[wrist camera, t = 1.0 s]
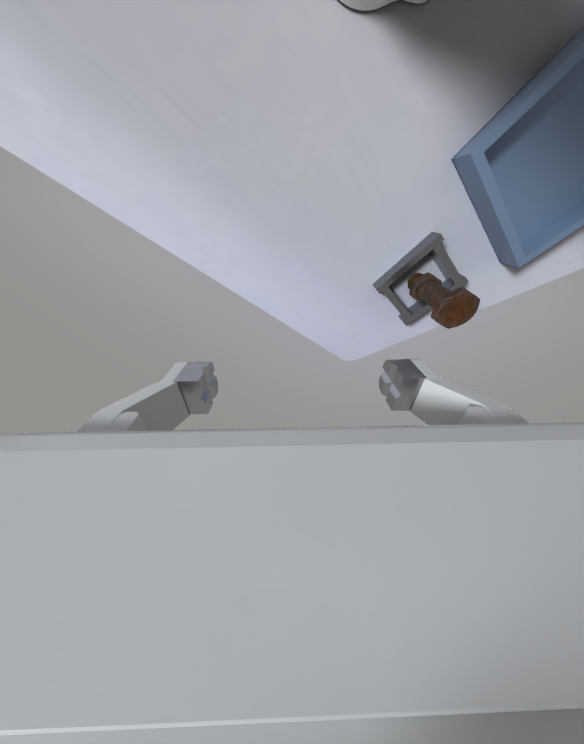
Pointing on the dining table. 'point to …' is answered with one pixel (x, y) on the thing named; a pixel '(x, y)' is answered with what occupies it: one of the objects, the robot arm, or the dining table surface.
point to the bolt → (443, 300)
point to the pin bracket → (417, 253)
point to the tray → (531, 162)
